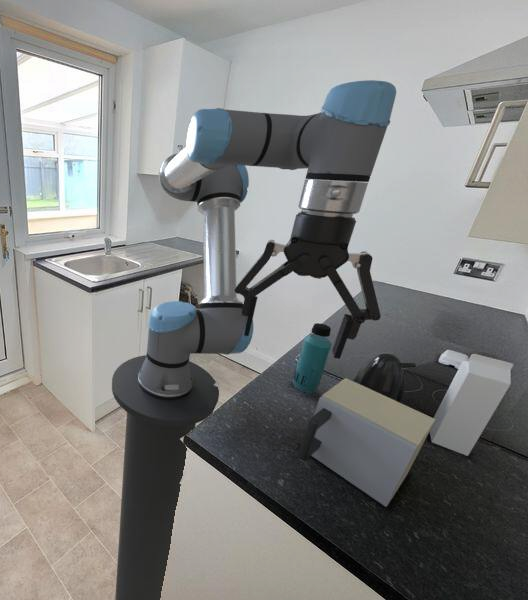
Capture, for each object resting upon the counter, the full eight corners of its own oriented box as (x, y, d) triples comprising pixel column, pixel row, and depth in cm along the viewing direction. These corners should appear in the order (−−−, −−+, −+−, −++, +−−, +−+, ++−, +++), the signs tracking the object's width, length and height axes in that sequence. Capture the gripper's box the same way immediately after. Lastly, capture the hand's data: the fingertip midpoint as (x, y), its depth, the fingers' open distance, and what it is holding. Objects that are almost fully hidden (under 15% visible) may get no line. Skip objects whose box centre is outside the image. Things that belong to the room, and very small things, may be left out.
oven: (388, 504, 56) (418, 445, 51) (304, 447, 67) (322, 394, 62) (407, 474, 62) (435, 419, 57) (327, 427, 73) (345, 377, 68)
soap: (441, 354, 110) (444, 346, 109) (468, 362, 105) (472, 355, 104) (437, 362, 105) (440, 354, 104) (465, 371, 100) (469, 363, 99)
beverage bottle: (319, 390, 87) (340, 326, 79) (312, 401, 82) (334, 334, 75) (294, 380, 91) (312, 317, 84) (286, 389, 86) (305, 324, 79)
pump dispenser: (399, 423, 76) (424, 370, 70) (349, 407, 80) (368, 356, 75) (391, 400, 84) (412, 351, 79) (346, 387, 89) (363, 340, 83)
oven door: (372, 527, 52) (403, 467, 47) (286, 463, 63) (303, 408, 58) (388, 504, 56) (417, 446, 51) (304, 447, 67) (322, 395, 62)
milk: (467, 456, 67) (520, 371, 59) (430, 442, 71) (475, 359, 62) (462, 439, 72) (510, 358, 64) (427, 427, 75) (469, 347, 67)
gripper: (232, 206, 46) (210, 333, 54) (451, 226, 36) (385, 377, 44) (239, 203, 52) (218, 317, 60) (428, 220, 42) (373, 353, 51)
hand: (289, 343), depth 52 cm, fingers open, 13 cm apart
